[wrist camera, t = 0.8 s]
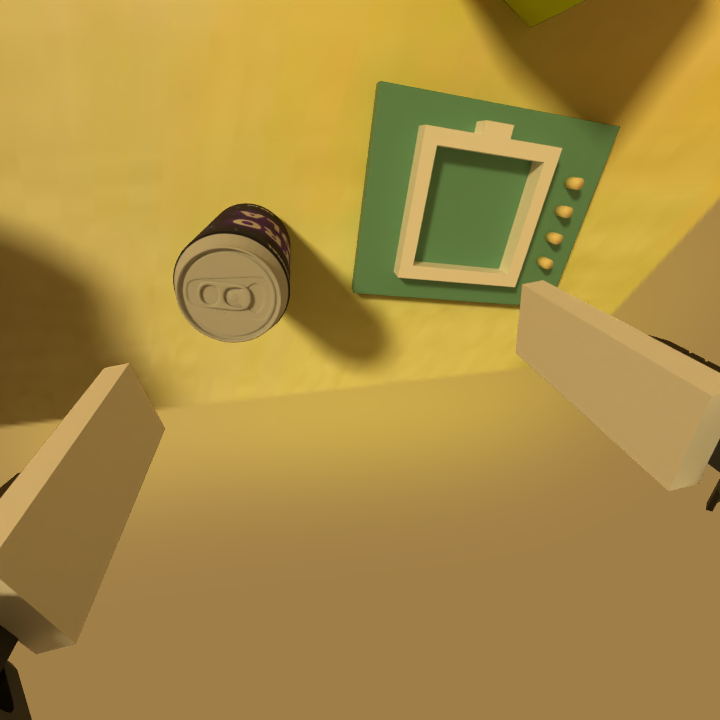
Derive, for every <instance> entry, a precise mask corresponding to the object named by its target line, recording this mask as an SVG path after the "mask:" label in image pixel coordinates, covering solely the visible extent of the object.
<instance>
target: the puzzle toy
mask: <svg viewBox="0 0 720 720" xmlns="http://www.w3.org/2000/svg"><path fill="white" fill-rule="evenodd" d="M504 1H505V2H506V3H507V4H508V5H509V6H510V7H511V8H512V9H513V10H514V11H515V12H516V13H517V14H518V15H519V16H520V17H521V18H522V20H523V21H524V22H525V23H526V24H527V25H528V26H529V27H530V28H531V27H533V26H535V25H537V24H539V23H541V22H543V21H545V20H547V19H549V18H551V17H553V16H555V15H557V14H559V13H561V12H563V11H565V10H567V9H569V8H571V7H573V6H575V5H577V4H579V3H581V2H583V1H585V0H504Z"/></svg>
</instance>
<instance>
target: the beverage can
mask: <svg viewBox="0 0 720 720" xmlns="http://www.w3.org/2000/svg"><path fill="white" fill-rule="evenodd" d="M173 283H174V290H175V294H176V299H177V303H178V306H179V308H180V310H181V312H182V314H183V315H184V317H185V318H186V320H187V321H188V322H189V323H190V324H191V325H192V326H193V327H194V328H195V329H197V330H198V331H199V332H201V333H203V334H204V335H206V336H208V337H210V338H213V339H216V340H219V341H224V342H235V343H236V342H245V341H249V340H252V339H255V338H257V337H259V336H261V335H262V334H264V333H265V332H266V331H268V330H269V329H270V328H272V327H273V326H274V325H275V324H276V323H277V322H278V321H279V320H280V319H281V317H282V316H283V314H284V313H285V311H286V308H287V306H288V302H289V297H290V239H289V235H288V232H287V230H286V228H285V226H284V225H283V223H282V222H281V220H280V219H279V218H278V217H277V216H276V215H275V214H274V213H272V212H271V211H269V210H268V209H266V208H264V207H262V206H259V205H255V204H246V203H245V204H237V205H234V206H231V207H229V208H227V209H226V210H224V211H223V212H222V213H221V214H219V215H218V216H217V217H216V218H215V219H214V220H213V221H212V222H211V223H210V224H209V225H208V226H207V227H206V228H205V229H204V230H203V231H202V232H201V233H200V234H199V235H198V236H197V237H196V238H195V239H194V240H193V241H191V242H190V243H189V244H188V245H187V246H186V247H185V249H184V250H183V251H182V252H181V254H180V256H179V257H178V259H177V262H176V265H175V268H174V274H173Z"/></svg>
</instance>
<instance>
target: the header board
mask: <svg viewBox="0 0 720 720" xmlns="http://www.w3.org/2000/svg"><path fill="white" fill-rule="evenodd" d="M619 128H620V127H619V126H614V125H608V124H603V123H598V122H593V121H587V120H582V119H577V118H572V117H567V116H561V115H556V114H551V113H546V112H540V111H535V110H530V109H525V108H519V107H514V106H509V105H504V104H498V103H493V102H488V101H483V100H477V99H472V98H467V97H462V96H456V95H451V94H446V93H441V92H436V91H430V90H425V89H420V88H415V87H409V86H404V85H399V84H394V83H388V82H383V81H380V82H378V83H377V85H376V94H375V102H374V110H373V118H372V126H371V134H370V143H369V151H368V159H367V167H366V175H365V183H364V191H363V200H362V208H361V216H360V224H359V232H358V240H357V248H356V257H355V265H354V273H353V281H352V290H353V293H360V294H374V295H388V296H401V297H415V298H429V299H443V300H457V301H471V302H485V303H498V304H512V305H520V302H521V292H522V284H526V283H531V282H536V281H541V280H544V281H546V282H548V283H550V284H551V285H553V286H555V287H557V285H558V283H559V280H560V278H561V275H562V273H563V270H564V267H565V265H566V262H567V260H568V257H569V255H570V252H571V250H572V247H573V245H574V242H575V240H576V237H577V235H578V232H579V230H580V227H581V224H582V222H583V219H584V217H585V214H586V212H587V209H588V207H589V204H590V202H591V199H592V197H593V194H594V192H595V189H596V186H597V184H598V181H599V179H600V176H601V174H602V171H603V169H604V166H605V164H606V161H607V159H608V156H609V154H610V151H611V149H612V146H613V143H614V141H615V138H616V136H617V133H618V131H619Z"/></svg>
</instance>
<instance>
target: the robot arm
mask: <svg viewBox="0 0 720 720" xmlns="http://www.w3.org/2000/svg"><path fill="white" fill-rule="evenodd" d="M516 354H517V355H518V356H519V357H521V358H522V359H523V360H524V361H525V362H526V363H527V364H528V365H529V366H531V367H532V368H533V369H534V370H535V371H536V372H537V373H538V374H539V375H541V376H542V377H543V378H544V379H545V380H546V381H547V382H548V383H549V384H551V385H552V386H553V387H554V388H555V389H556V390H557V391H558V392H559V393H561V394H562V395H563V396H564V397H565V398H566V399H567V400H569V402H571V403H572V404H573V405H574V406H575V407H576V408H577V409H578V410H579V411H581V412H582V413H583V414H584V415H585V416H586V417H587V418H588V419H590V420H591V421H592V422H593V423H594V424H595V425H596V426H597V427H598V428H599V429H600V430H602V431H603V432H604V433H605V434H606V435H607V436H608V437H609V438H610V439H612V440H613V441H614V442H615V443H616V444H617V445H618V446H619V447H620V448H622V449H623V450H624V451H625V452H626V453H627V454H628V455H629V456H631V457H632V458H633V459H634V460H635V461H636V462H637V463H639V465H640V466H642V467H643V468H644V469H645V470H646V471H647V472H648V473H649V474H651V475H652V476H653V477H654V478H655V479H656V480H657V481H658V482H659V483H660V484H661V485H663V486H664V487H665V488H666V489H667V490H668V491H671V490H675V489H679V488H683V487H687V486H691V485H695V484H699V482H700V480H701V478H702V476H703V474H704V472H705V470H706V468H707V466H708V464H710V465H711V466H712V467H713V468H715V469H716V470H717V471H719V472H720V367H719V366H717V365H715V364H713V363H711V362H709V361H708V362H706V361H705V359H704V358H701V357H700V356H698V355H695V354H694V353H689V351H688V350H686V349H684V348H682V347H680V346H678V345H676V344H674V343H672V342H670V341H667V340H664V339H660V338H657V337H654V336H650V335H647V334H645V333H642V332H641V331H639V330H637V329H635V328H633V327H631V326H629V325H627V324H626V323H624V322H622V321H620V320H618V319H616V318H614V317H612V316H610V315H608V314H607V313H605V312H603V311H601V310H599V309H597V308H595V307H593V306H591V305H589V304H588V303H586V302H584V301H582V300H580V299H578V298H576V297H574V296H572V295H570V294H569V293H567V292H565V291H563V290H561V289H559V288H557V287H555V286H553V285H551V284H550V283H548V282H546V281H544V280H541V281H536V282H531V283H526V284H522V292H521V302H520V313H519V323H518V333H517V344H516ZM164 430H165V428H164V426H163V424H162V422H161V420H160V419H159V417H158V415H157V413H156V411H155V409H154V407H153V405H152V404H151V402H150V400H149V398H148V396H147V394H146V392H145V391H144V389H143V387H142V385H141V383H140V381H139V379H138V378H137V376H136V374H135V372H134V370H133V368H132V366H131V365H130V363H126V364H121V365H116V366H111V367H106V368H104V369H103V370H102V371H101V373H100V374H99V375H98V376H97V378H96V379H95V380H94V382H93V383H92V384H91V385H90V387H89V388H88V389H87V390H86V392H85V393H84V394H83V395H82V397H81V398H80V399H79V400H78V402H77V403H76V404H75V405H74V407H73V408H72V409H71V410H70V412H69V413H68V414H67V415H66V417H65V418H64V419H63V420H62V422H61V423H60V424H59V425H58V427H57V428H56V429H55V430H54V432H53V433H52V434H51V436H50V437H49V438H48V439H47V441H46V442H45V443H44V444H43V446H42V447H41V448H40V449H39V451H38V452H37V453H36V454H35V456H34V457H33V458H32V459H31V461H30V462H29V463H28V464H27V466H26V467H25V469H23V471H22V472H21V473H18V474H16V475H15V476H14V477H13V478H12V479H10V480H9V481H8V482H7V483H6V484H4V485H3V486H2V487H1V488H0V720H32V719H31V715H30V713H29V709H28V705H27V702H26V699H25V695H24V692H23V688H22V685H21V681H20V678H19V674H18V671H17V669H16V668H15V667H14V666H13V665H12V664H11V663H10V662H9V661H7V660H8V658H9V656H10V654H11V652H12V650H13V649H14V646H15V645H16V643H17V641H20V642H21V643H22V644H23V645H25V646H26V647H27V648H29V649H30V650H31V651H33V652H34V653H35V654H38V653H42V652H46V651H50V650H54V649H58V648H61V647H66V646H69V645H73V644H76V643H77V640H78V638H79V635H80V633H81V630H82V628H83V626H84V623H85V621H86V618H87V616H88V613H89V611H90V609H91V606H92V604H93V601H94V599H95V597H96V594H97V592H98V589H99V587H100V585H101V582H102V580H103V577H104V575H105V572H106V570H107V568H108V565H109V562H110V560H111V558H112V555H113V553H114V551H115V548H116V546H117V543H118V541H119V539H120V536H121V534H122V531H123V529H124V526H125V524H126V522H127V519H128V517H129V514H130V512H131V510H132V507H133V505H134V502H135V500H136V498H137V495H138V493H139V490H140V488H141V485H142V483H143V481H144V478H145V476H146V473H147V471H148V469H149V466H150V464H151V461H152V459H153V456H154V454H155V452H156V449H157V447H158V444H159V442H160V439H161V437H162V434H163V432H164ZM718 502H720V479H719V481H718V483H717V485H716V487H715V489H714V490H713V493H712V494H711V496H710V498H709V500H708V502H707V506H706V510H709V511H713V509H714V507H715V506H716V504H717V503H718Z"/></svg>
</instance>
